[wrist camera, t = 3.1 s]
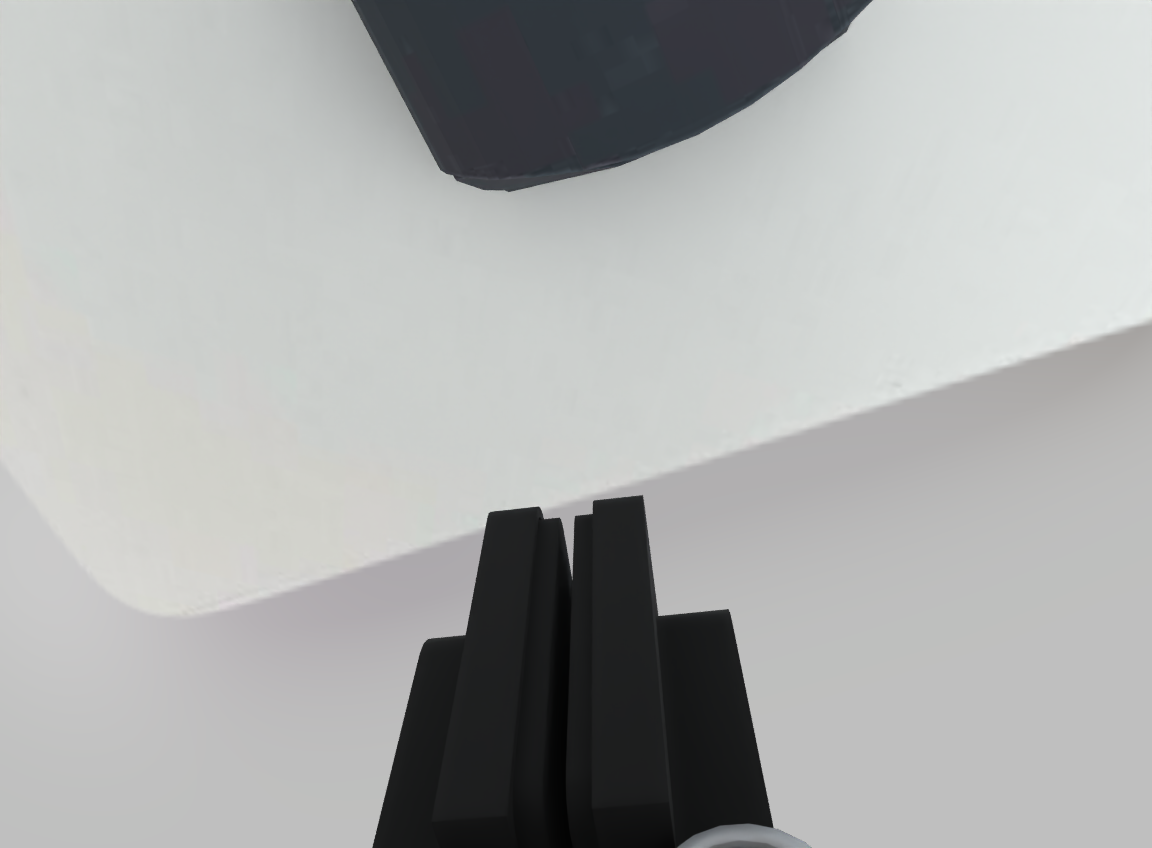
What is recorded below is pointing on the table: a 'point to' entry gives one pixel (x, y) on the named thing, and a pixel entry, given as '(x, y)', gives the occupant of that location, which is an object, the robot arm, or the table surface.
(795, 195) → the table surface
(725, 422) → the table surface
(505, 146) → the sight
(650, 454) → the table surface
